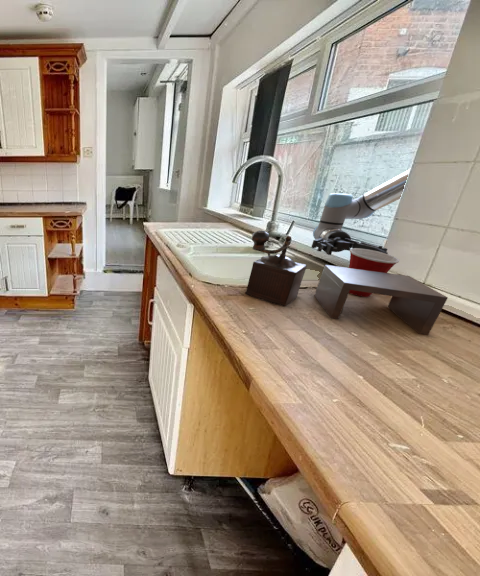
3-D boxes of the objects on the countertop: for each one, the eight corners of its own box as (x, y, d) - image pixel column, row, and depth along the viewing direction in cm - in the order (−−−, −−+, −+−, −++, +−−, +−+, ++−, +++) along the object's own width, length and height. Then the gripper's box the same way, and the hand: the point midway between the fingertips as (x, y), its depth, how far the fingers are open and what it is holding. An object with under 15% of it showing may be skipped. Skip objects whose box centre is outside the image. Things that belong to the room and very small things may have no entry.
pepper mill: (255, 285, 90) (272, 224, 84) (297, 297, 83) (319, 231, 76) (233, 298, 80) (249, 230, 74) (279, 313, 73) (301, 239, 66)
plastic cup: (363, 302, 82) (380, 259, 78) (326, 287, 92) (340, 248, 87) (392, 300, 85) (411, 258, 80) (354, 285, 94) (369, 247, 90)
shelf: (394, 308, 79) (409, 275, 76) (428, 335, 66) (448, 297, 63) (314, 295, 85) (324, 264, 82) (330, 318, 72) (344, 282, 69)
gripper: (372, 254, 109) (402, 272, 91) (293, 245, 117) (306, 259, 99) (380, 234, 106) (414, 247, 88) (299, 225, 114) (313, 236, 96)
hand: (357, 253), depth 93 cm, fingers open, 13 cm apart
